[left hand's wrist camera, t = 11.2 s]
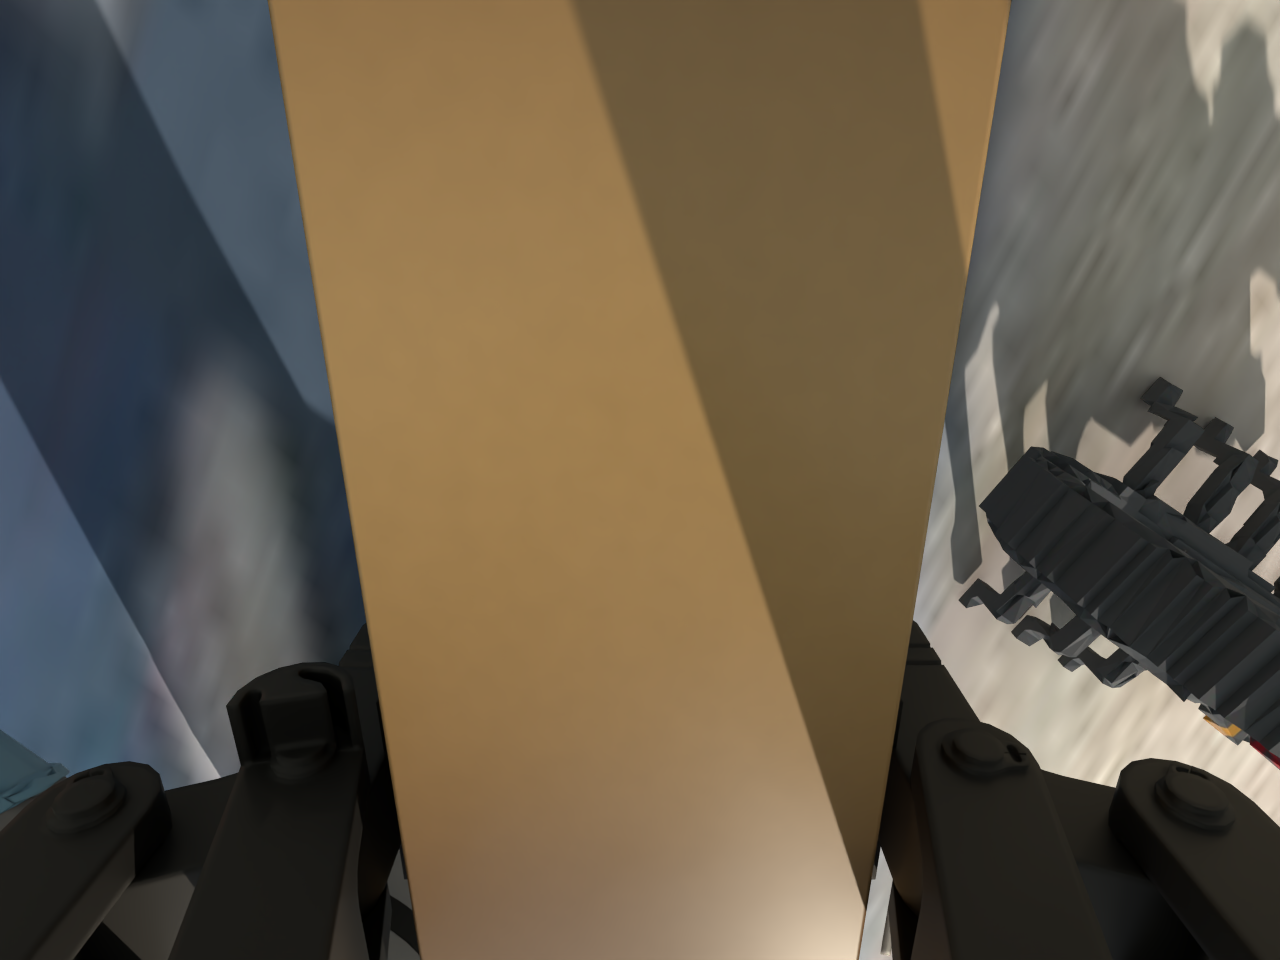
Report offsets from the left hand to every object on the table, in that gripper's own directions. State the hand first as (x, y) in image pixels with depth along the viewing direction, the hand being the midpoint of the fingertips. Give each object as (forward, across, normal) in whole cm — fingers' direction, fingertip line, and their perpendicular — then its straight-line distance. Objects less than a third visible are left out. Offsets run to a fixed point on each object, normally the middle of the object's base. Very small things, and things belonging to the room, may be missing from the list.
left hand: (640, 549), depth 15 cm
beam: (0, 0, -30) cm, 30 cm away
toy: (+19, -23, +10) cm, 32 cm away
